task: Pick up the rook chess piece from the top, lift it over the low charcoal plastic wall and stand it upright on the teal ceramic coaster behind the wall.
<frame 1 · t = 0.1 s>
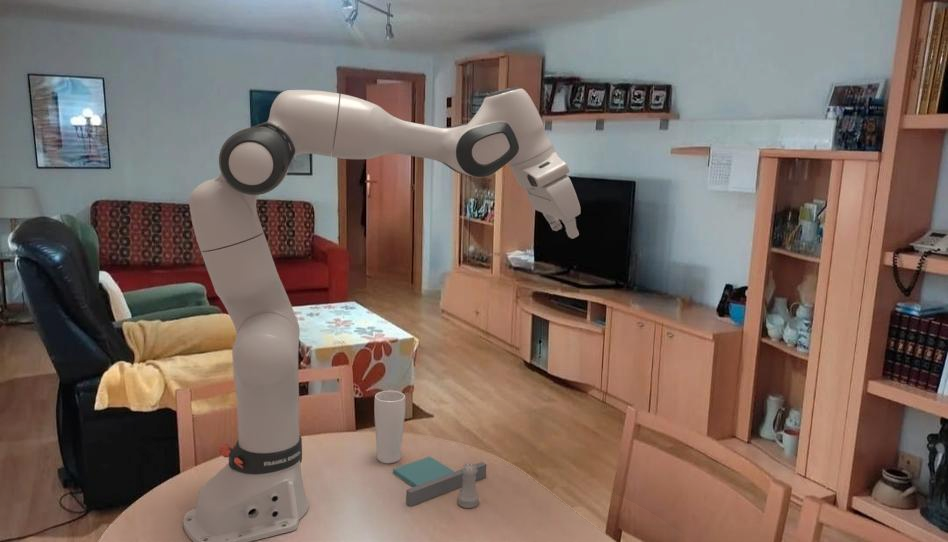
hand: (565, 232, 135), 54 cm above the table, tool tilted 30°, fingers open, 8 cm apart
drinking glass: (388, 459, 156), on the table
rook chess piece: (467, 504, 139), on the table
low wall: (447, 489, 143), on the table
coaster: (425, 475, 149), on the table
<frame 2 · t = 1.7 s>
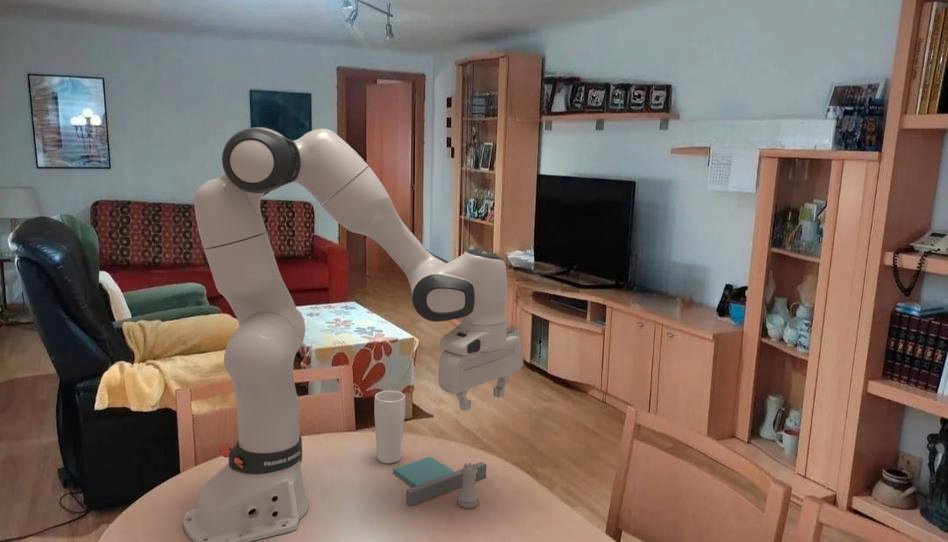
hand: (482, 402, 135), 21 cm above the table, tool pointing down, fingers open, 8 cm apart
nothing on the table moved.
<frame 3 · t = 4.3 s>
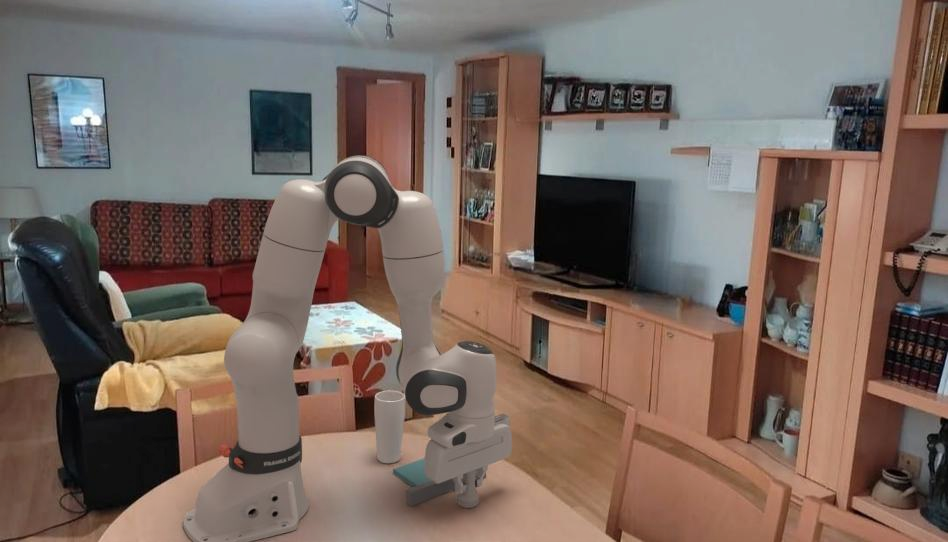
hand: (468, 488, 138), 3 cm above the table, tool pointing down, fingers closed on rook chess piece, 3 cm apart
rook chess piece: (467, 504, 139), on the table, touching gripper
everything else where it was.
when the fingers open (6 cm above the table, at t = 9.1 s): rook chess piece stays where it is, resting on coaster.
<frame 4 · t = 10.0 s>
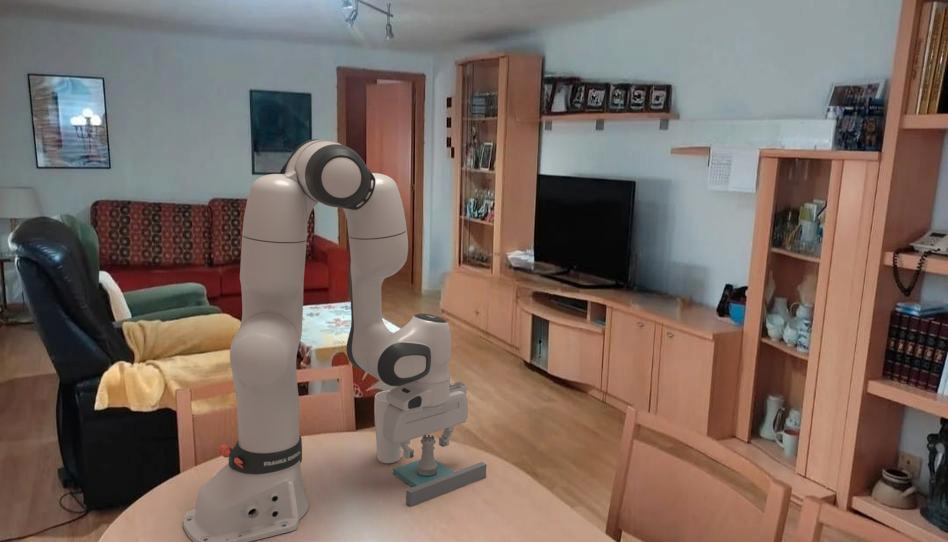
hand: (426, 451, 148), 6 cm above the table, tool pointing down, fingers open, 8 cm apart
rook chess piece: (427, 472, 148), point 1 cm above the table, touching coaster
everything else where it was.
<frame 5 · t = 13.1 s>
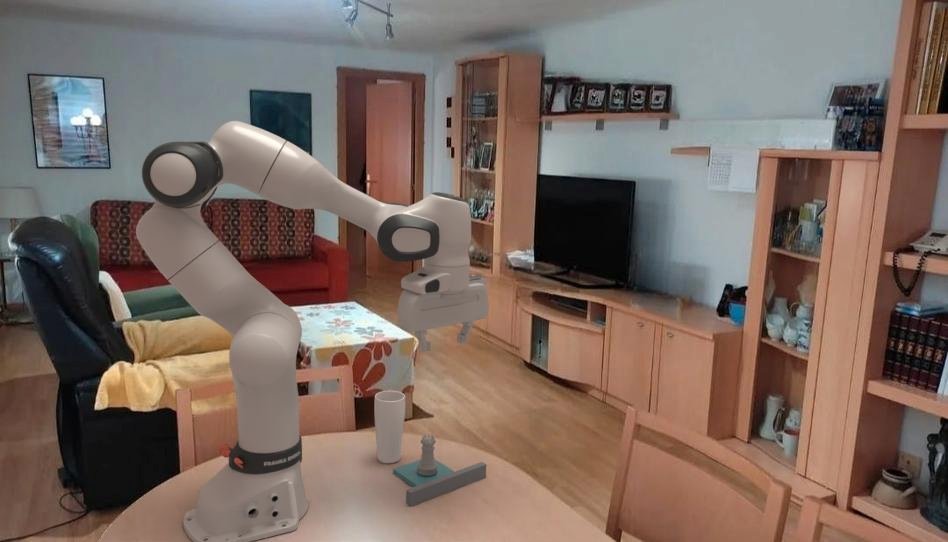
hand: (443, 346, 136), 31 cm above the table, tool pointing down, fingers open, 8 cm apart
nothing on the table moved.
at the end: rook chess piece 0.5 cm off-centre on the coaster, point 0.8 cm above the coaster's base; rook chess piece tilted 0°; the gripper is holding nothing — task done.
